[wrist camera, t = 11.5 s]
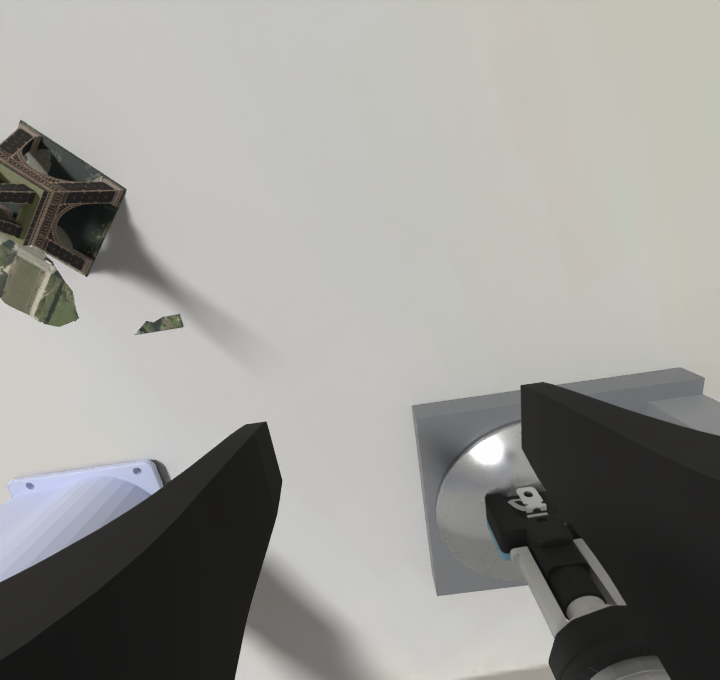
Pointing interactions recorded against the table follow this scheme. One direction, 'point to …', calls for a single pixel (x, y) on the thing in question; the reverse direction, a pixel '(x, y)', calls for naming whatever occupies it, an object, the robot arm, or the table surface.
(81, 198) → the eiffel tower figurine
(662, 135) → the table surface
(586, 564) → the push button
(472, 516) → the postal scale
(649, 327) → the table surface
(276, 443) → the table surface
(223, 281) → the table surface
